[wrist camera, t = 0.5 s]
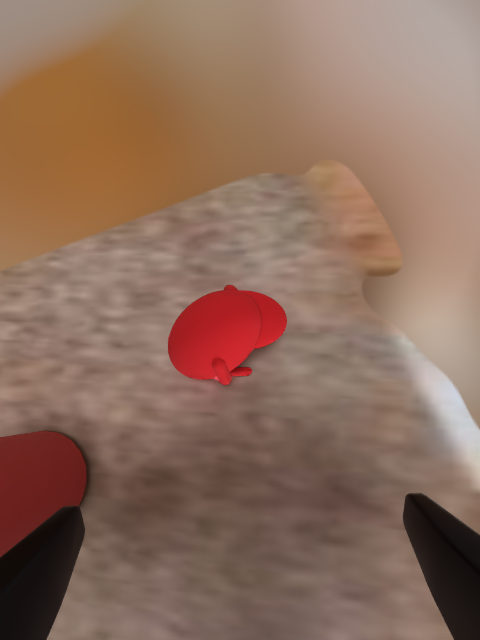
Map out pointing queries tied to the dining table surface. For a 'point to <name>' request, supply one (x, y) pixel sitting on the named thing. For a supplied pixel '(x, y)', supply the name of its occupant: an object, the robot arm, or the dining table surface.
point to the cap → (223, 333)
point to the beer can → (36, 482)
